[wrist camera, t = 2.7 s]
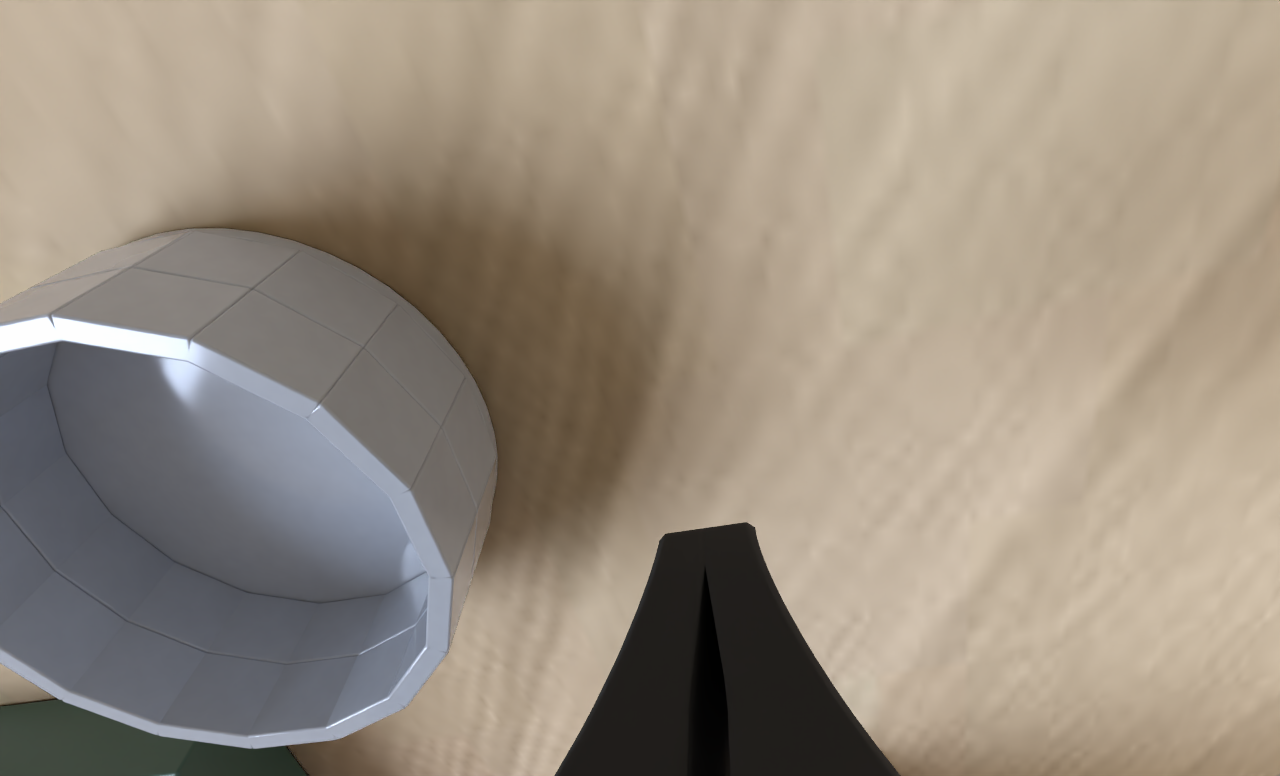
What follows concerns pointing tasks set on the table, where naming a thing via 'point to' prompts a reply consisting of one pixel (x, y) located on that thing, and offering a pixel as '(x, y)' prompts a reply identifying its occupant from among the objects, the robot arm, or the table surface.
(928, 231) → the table surface
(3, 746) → the control box
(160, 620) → the pot
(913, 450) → the table surface
